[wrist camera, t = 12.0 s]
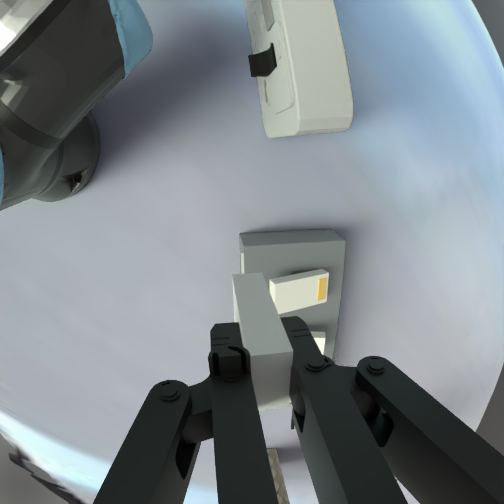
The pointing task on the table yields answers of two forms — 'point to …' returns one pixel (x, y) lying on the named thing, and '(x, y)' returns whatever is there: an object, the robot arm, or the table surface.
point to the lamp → (277, 477)
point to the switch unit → (300, 270)
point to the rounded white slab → (299, 67)
